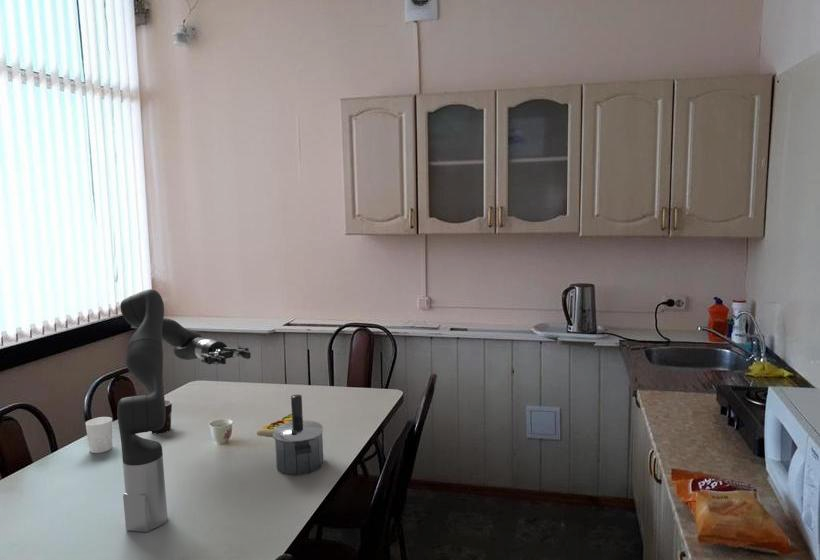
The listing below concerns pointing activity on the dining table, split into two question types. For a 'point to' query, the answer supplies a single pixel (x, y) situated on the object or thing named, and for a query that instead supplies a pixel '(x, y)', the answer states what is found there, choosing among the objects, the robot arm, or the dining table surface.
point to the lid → (297, 426)
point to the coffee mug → (168, 418)
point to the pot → (299, 457)
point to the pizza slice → (274, 426)
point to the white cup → (99, 434)
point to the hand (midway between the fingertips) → (237, 358)
